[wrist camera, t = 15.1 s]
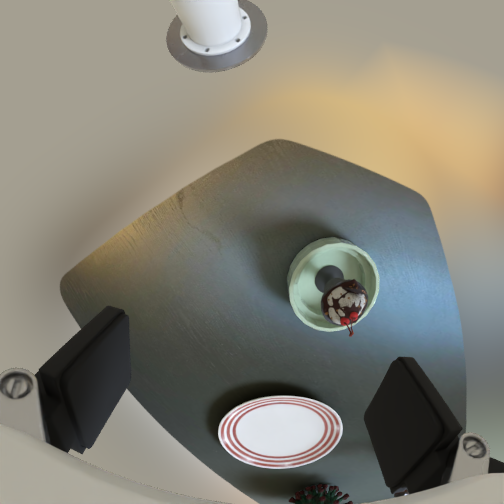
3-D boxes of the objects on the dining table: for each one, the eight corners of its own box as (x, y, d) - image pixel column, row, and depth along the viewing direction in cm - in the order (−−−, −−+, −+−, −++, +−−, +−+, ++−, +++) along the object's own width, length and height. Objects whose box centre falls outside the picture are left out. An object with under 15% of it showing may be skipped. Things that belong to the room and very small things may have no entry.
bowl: (298, 228, 44) (302, 233, 39) (378, 247, 44) (390, 254, 39) (278, 309, 47) (279, 323, 43) (354, 323, 47) (362, 336, 43)
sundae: (319, 305, 46) (339, 353, 32) (303, 271, 45) (319, 310, 31) (354, 287, 45) (387, 329, 31) (339, 253, 44) (371, 284, 30)
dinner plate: (217, 454, 58) (215, 464, 54) (222, 379, 51) (220, 390, 48) (322, 460, 57) (323, 469, 54) (355, 388, 51) (359, 398, 48)
